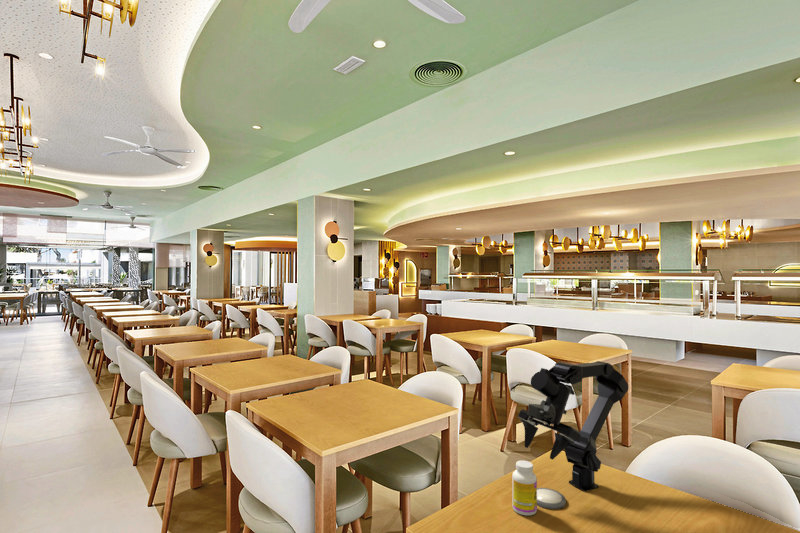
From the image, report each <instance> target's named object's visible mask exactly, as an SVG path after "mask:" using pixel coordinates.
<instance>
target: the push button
mask: <svg viewBox="0 0 800 533" xmlns="http://www.w3.org/2000/svg"><path fill="white" fill-rule="evenodd" d="M566 504H567V503H566V496H564V495H563V494H562V493H561V492H560V491H558V490H555V489H551V488H547V487H537V507H538V506H539V507H540V508H542V509H547V510H560V509H562V508H564V507H565V506H566Z"/></svg>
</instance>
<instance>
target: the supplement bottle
mask: <svg viewBox="0 0 800 533" xmlns="http://www.w3.org/2000/svg"><path fill="white" fill-rule="evenodd" d="M515 468H516V469H515V470H513V472H512V474H511V475H512V483H511V484H512V496H511V497H512V502H511V504H512V505H511V506H512V509H513V511H515V513H517V514H519V515H522V516H527V517H528V516H530V517H531V516H534V515H535V514H536V513H537V511H538V505H537V488H538V485H537V483H538V481H537V479H538V478H537V476H536V474H535V473H534V472H533V471H534V465H533V463H532V462H530V461H528V460H517V461H516V463H515Z"/></svg>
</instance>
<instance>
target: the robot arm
mask: <svg viewBox="0 0 800 533" xmlns="http://www.w3.org/2000/svg"><path fill="white" fill-rule="evenodd" d="M593 377H595V381H596V382H597V386H596V387H597V392H598V395H597V397H596V399H595V402H594V403H593V405H592V408H591V409H590V411H589V413H588V415H587V417H586V419H585V421H584V422H583V425H582V427H581V429H580V431H579V430H577V429H576V428H574V427H572V426H571V425H567V424H565V423H563V422H561V421H562V419H563V415H567V412H568V411H567V410H566V407H567V404H568V401H569V397H570V395H572V396H575V391H574V389H573V386H572V385H576V384H579V383H580V382H582V381H583V379H586V378H593ZM569 384H570V385H569ZM530 385H531V387H532V388H533V389H534V390H536V391H537V392H539V393H540V394H542V395H543V396H545V397H546V398H545V400H544V399H543V400H542V401H541V402H540V404H538V403H528V408H527V409H528V410H526V409H524V408H522V409H521V410H520V411H519V412H518V414H517V418H519V420H520V422H521V423H522V425H523V428H524V448H526V449H529V447H530V445H531V444H532V442H533V440H534V438H535V435H536V434H537V432H538V431H539V427H537V426H539V425H540V426H542V427H545V428H548V429H550V430H553V431H554V442H553V446H552V448H551V451H550V455H549V459H550V460H551V461H552V460H554V459H555V458H557V456H558V455H559V454H561V453H562V451H563V450H564V453H565V457H566V460H567V461H566V462H567V463H570V464H572V470H571V479H569V480H568V483H569V484H571V485H572V486H573V487H575V488H577V489H580V491H583V492H589V491H592V490H594V489H598V488H599V487H600V486H599V484H597V483H596V482H595V472H596V473H597V472H599V470H600V469H601V465H602V461H601V460H600V459H599V457H598V456H597V452H598V450H597V444H596V441H597V438H598V436H599V434H600V432H601V431H602V428H603V427H604V424H605V422H606V420H607V418H608V416H609V414H610V412H611V410H612V408H613V406H614V404H616V403H617V402H619V401H621V400H623V398H624V397H625V395H626V394H627V392H629V383H628V382H627V380H626V379H625V377H624V375H623V374H621V373H620V372H618V370H616V369H615V368H614V367H613V364H611V363H610V362H604V361H599V360H597V361H594V362H585V363H578V364H577V363H576V364H574V363H568V362H562V361H557V362H555V364H554V365H553V366H552V367H551V368H550V369H547V368H543V367H541V368H540V370H539V371H538V372H535V373H534V374H533V375H532V376H531V378H530Z"/></svg>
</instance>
